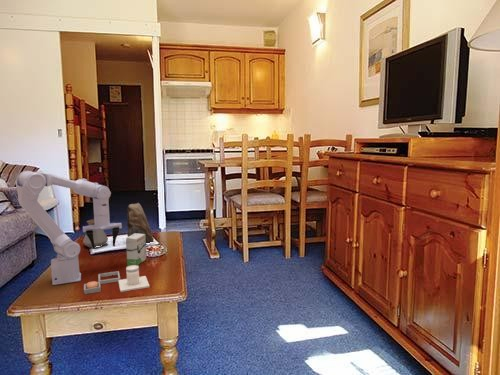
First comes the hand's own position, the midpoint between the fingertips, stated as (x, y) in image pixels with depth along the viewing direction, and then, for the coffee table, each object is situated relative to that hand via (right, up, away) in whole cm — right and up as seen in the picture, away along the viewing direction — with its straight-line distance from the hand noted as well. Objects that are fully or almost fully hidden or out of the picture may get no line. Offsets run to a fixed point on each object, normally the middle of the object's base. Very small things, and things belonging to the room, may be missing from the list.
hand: (103, 246), depth 148 cm
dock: (+5, -11, -13) cm, 18 cm away
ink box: (+11, -8, +9) cm, 16 cm away
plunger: (+3, -12, -19) cm, 23 cm away
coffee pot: (-15, -6, +28) cm, 32 cm away
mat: (+17, -12, -14) cm, 25 cm away
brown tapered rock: (+4, -4, +36) cm, 36 cm away
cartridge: (+17, -11, -14) cm, 24 cm away
